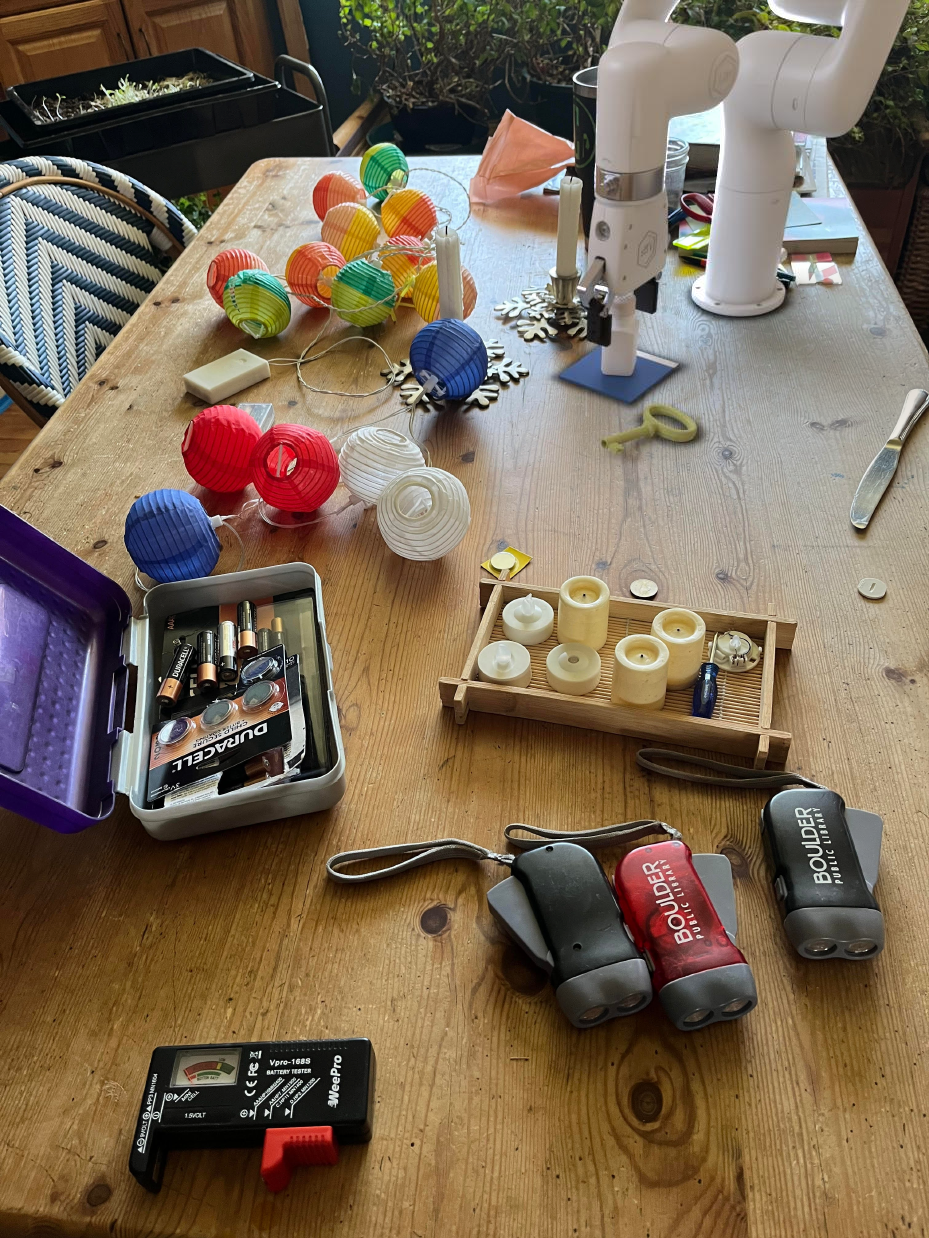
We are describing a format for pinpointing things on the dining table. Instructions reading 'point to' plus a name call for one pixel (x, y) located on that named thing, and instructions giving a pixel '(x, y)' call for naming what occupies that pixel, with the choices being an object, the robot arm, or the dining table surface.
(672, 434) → the key
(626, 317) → the pepper shaker
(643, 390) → the towel
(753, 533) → the dining table surface
